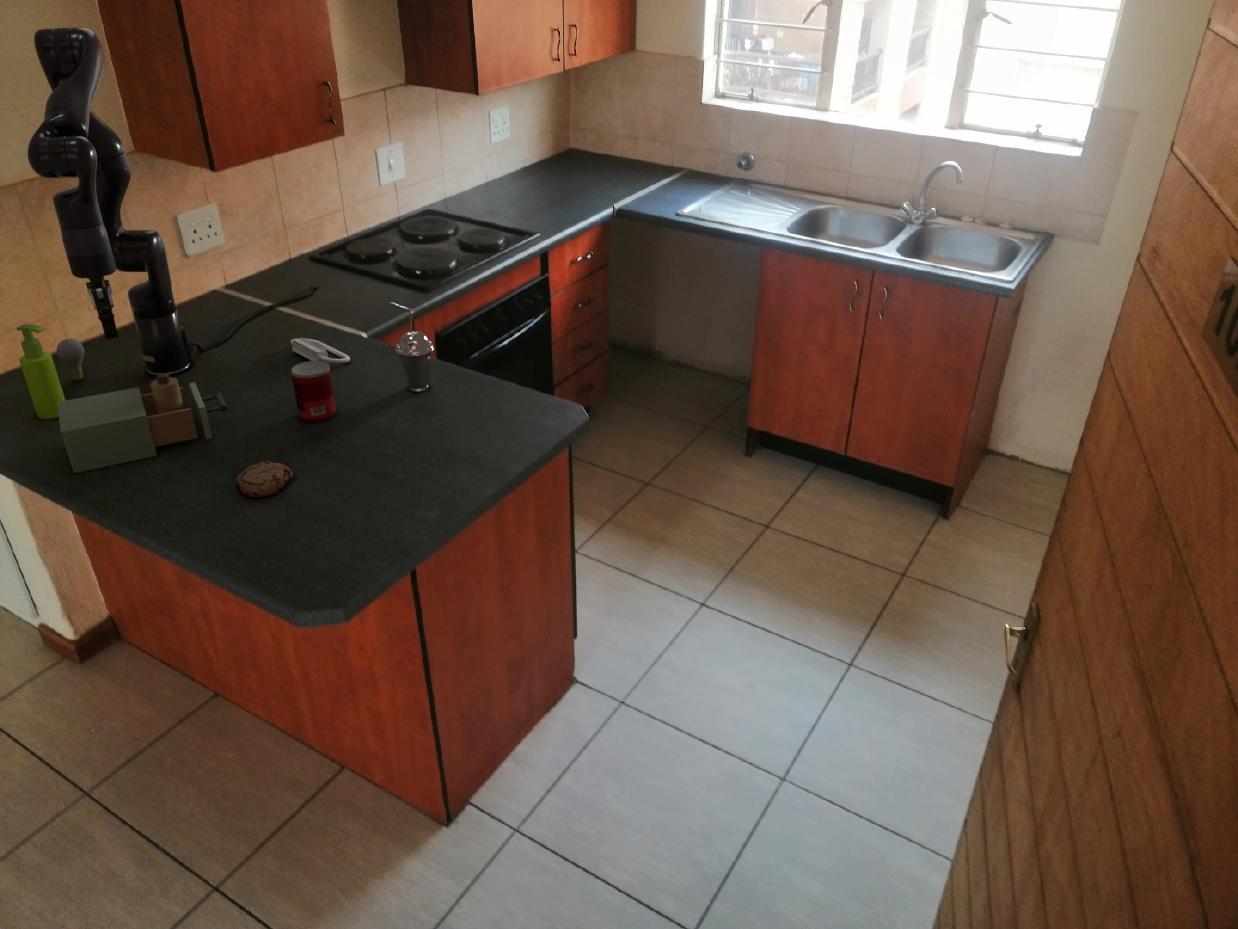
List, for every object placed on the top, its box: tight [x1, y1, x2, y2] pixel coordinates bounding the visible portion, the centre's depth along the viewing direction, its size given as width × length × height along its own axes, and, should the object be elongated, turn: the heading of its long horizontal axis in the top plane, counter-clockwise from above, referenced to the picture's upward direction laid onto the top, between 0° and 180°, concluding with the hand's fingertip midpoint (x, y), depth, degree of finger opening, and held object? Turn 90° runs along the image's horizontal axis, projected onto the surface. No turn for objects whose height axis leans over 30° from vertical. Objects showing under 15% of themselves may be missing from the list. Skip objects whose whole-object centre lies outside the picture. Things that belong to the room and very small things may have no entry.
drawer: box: [140, 382, 228, 448], centre depth 193 cm, size 18×14×7 cm
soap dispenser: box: [16, 324, 66, 420], centre depth 197 cm, size 6×7×20 cm
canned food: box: [290, 360, 337, 423], centre depth 200 cm, size 8×8×11 cm
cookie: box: [236, 460, 294, 498], centre depth 177 cm, size 10×11×3 cm
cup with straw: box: [389, 301, 435, 393], centre depth 211 cm, size 8×9×20 cm
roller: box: [150, 373, 184, 414], centre depth 190 cm, size 5×5×12 cm
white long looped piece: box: [289, 337, 351, 364], centre depth 230 cm, size 20×8×4 cm, turn 47°
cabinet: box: [57, 387, 158, 474], centre depth 187 cm, size 15×15×9 cm
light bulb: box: [56, 338, 85, 381], centre depth 215 cm, size 6×6×10 cm
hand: (110, 330), depth 182 cm, fingers open, 8 cm apart
